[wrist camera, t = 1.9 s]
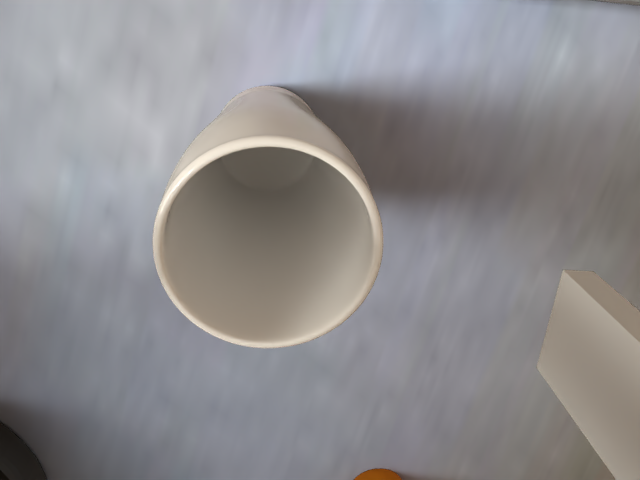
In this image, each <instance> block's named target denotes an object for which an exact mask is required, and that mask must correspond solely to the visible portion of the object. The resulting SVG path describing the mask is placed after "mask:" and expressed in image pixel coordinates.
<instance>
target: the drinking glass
mask: <svg viewBox="0 0 640 480" xmlns="http://www.w3.org/2000/svg"><path fill="white" fill-rule="evenodd" d="M382 254H383V229H382V223H381V218H380V214H379V211H378V208H377V205H376V203H375V201H374V198H373V195H372V192H371V189H370V187H369V185H368V182H367V180H366V178H365V176H364V174H363V172H362V170H361V168H360V166H359V165H358V163H357V161H356V160H355V158H354V156H353V155H352V153H351V152H350V150H349V149H348V148H347V146H346V145H345V144H344V143H343V141H342V140H341V139H340V138H339V137H338V136H337V135H336V134H335V133H334V132H333V131H332V130H331V129H330V128H329V127H328V126H327V125H326V124H325V123H323V122H322V121H321V120H320V119H319V118H318V117H317V116H316V115H315V114H314V113H313V111H312V110H311V108H310V107H309V106H308V105H307V103H306V102H305V101H304V100H302V99H301V98H300V97H299V96H297V95H296V94H294V93H293V92H291V91H289V90H286V89H283V88H280V87H275V86H258V87H253V88H250V89H247V90H245V91H243V92H241V93H239V94H237V95H236V96H235V97H233V98H232V99H231V100H230V101H229V102H228V103H227V104H226V105H225V107H224V108H223V110H222V111H221V113H220V114H219V115H218V116H217V117H216V118H215V119H214V120H213V121H212V122H211V123H210V124H209V125H208V126H207V127H205V128H204V129H203V130H202V131H201V132H200V133H199V134H198V135H197V137H196V138H195V139H194V140H193V141H192V143H191V144H190V145H189V146H188V148H187V149H186V150H185V152H184V153H183V155H182V156H181V158H180V160H179V161H178V163H177V165H176V167H175V169H174V171H173V173H172V175H171V177H170V179H169V181H168V184H167V186H166V189H165V191H164V194H163V197H162V200H161V203H160V206H159V209H158V211H157V215H156V219H155V223H154V230H153V255H154V260H155V265H156V269H157V272H158V275H159V278H160V280H161V283H162V285H163V287H164V289H165V291H166V293H167V294H168V296H169V297H170V299H171V300H172V302H173V303H174V304H175V306H176V307H177V308H178V309H179V310H180V311H181V312H182V313H183V314H184V315H185V316H186V317H187V318H188V319H189V320H190V321H191V322H193V323H194V324H195V325H196V326H198V327H199V328H201V329H202V330H204V331H206V332H207V333H209V334H211V335H213V336H215V337H217V338H220V339H222V340H225V341H227V342H230V343H234V344H238V345H242V346H247V347H254V348H281V347H288V346H294V345H298V344H302V343H305V342H308V341H311V340H313V339H316V338H318V337H320V336H322V335H324V334H326V333H328V332H330V331H331V330H333V329H335V328H336V327H337V326H339V325H340V324H342V323H343V322H344V321H345V320H346V319H348V318H349V317H350V316H351V315H352V314H353V313H354V312H355V311H356V310H357V309H358V307H359V306H360V305H361V304H362V303H363V301H364V300H365V298H366V297H367V295H368V294H369V292H370V290H371V288H372V286H373V284H374V282H375V280H376V277H377V275H378V272H379V268H380V265H381V260H382Z"/></svg>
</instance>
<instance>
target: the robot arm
mask: <svg viewBox="0 0 640 480" xmlns="http://www.w3.org/2000/svg"><path fill="white" fill-rule="evenodd" d="M536 368H537V369H538V370H539V372H540V373H541V375H542V376H543V377H544V379H545V380H546V382H547V383H548V384H549V386H550V387H551V389H552V390H553V392H554V393H555V394H556V396H557V397H558V399H559V400H560V401H561V403H562V404H563V406H564V407H565V408H566V410H567V411H568V413H569V414H570V416H571V417H572V418H573V420H574V421H575V423H576V424H577V425H578V427H579V428H580V430H581V431H582V432H583V434H584V435H585V437H586V438H587V440H588V441H589V442H590V444H591V445H592V447H593V448H594V449H595V451H596V452H597V454H598V455H599V456H600V458H601V459H602V461H603V462H604V463H605V465H606V466H607V468H608V469H609V471H610V472H611V473H612V475H613V476H614V478H615V479H616V480H640V311H639V310H637V309H636V308H635V307H634V306H633V305H632V304H630V303H629V302H628V301H627V300H626V299H625V298H624V297H622V296H621V295H620V294H619V293H618V292H617V291H615V290H614V289H613V288H612V287H611V286H610V285H608V284H607V283H606V282H605V281H604V280H603V279H602V278H600V277H599V276H598V275H597V274H596V273H595V272H593V271H575V270H563V272H562V275H561V279H560V283H559V286H558V290H557V294H556V298H555V301H554V305H553V309H552V312H551V316H550V320H549V323H548V327H547V331H546V334H545V338H544V342H543V345H542V349H541V353H540V356H539V360H538V364H537V367H536ZM0 480H46V477H45V474H44V472H43V470H42V467H41V466H40V464H39V462H38V460H37V459H36V457H35V456H34V454H33V453H32V452H31V451H30V449H29V448H28V447H27V446H26V445H25V444H24V443H23V441H22V440H21V439H19V438H18V437H17V436H16V435H15V434H14V433H13V432H11V431H10V430H9V429H8V428H6V427H5V426H4V425H2V424H1V423H0Z"/></svg>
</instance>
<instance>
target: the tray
mask: <svg viewBox="0 0 640 480" xmlns="http://www.w3.org/2000/svg"><path fill="white" fill-rule="evenodd" d="M592 1H601V2H610V3H620V4H629V5H639V6H640V0H592Z"/></svg>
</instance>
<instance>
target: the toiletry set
mask: <svg viewBox="0 0 640 480" xmlns="http://www.w3.org/2000/svg"><path fill="white" fill-rule="evenodd" d="M354 480H402V479H401V477H400V476H399V475H398V474H396V473H395V472H393V471H391V470H387V469H372V470H368V471H365V472H363V473H361V474H360V475H358V476H357V477H356V478H355V479H354Z"/></svg>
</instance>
